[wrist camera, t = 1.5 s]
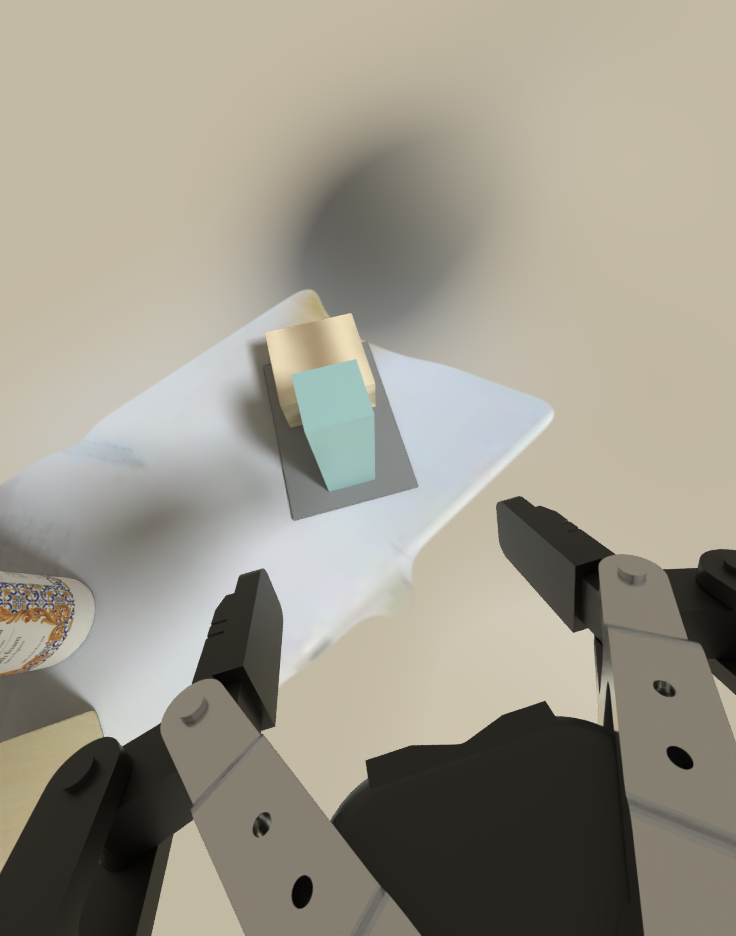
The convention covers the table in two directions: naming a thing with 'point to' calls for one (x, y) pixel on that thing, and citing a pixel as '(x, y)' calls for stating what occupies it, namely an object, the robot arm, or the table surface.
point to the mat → (305, 473)
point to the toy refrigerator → (36, 770)
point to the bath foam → (41, 620)
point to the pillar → (338, 422)
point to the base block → (314, 356)
